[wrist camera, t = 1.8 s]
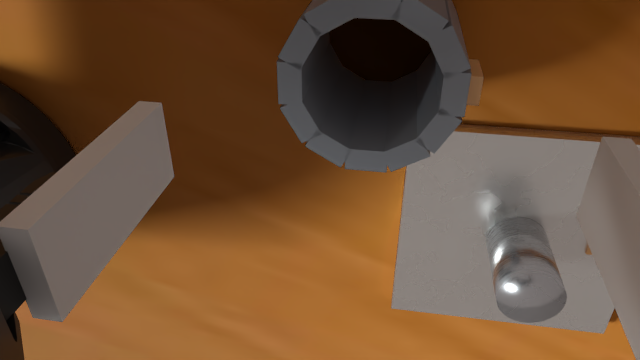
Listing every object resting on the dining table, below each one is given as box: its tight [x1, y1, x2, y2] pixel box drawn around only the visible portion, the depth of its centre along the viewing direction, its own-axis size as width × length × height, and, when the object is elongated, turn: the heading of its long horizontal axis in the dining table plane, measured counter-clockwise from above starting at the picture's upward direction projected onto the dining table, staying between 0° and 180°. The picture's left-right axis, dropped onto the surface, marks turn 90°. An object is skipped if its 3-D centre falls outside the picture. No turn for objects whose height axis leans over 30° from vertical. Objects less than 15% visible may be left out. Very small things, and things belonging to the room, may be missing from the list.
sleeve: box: [277, 0, 484, 172], centre depth 24 cm, size 8×8×8 cm
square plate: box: [391, 124, 640, 334], centre depth 30 cm, size 14×14×6 cm
